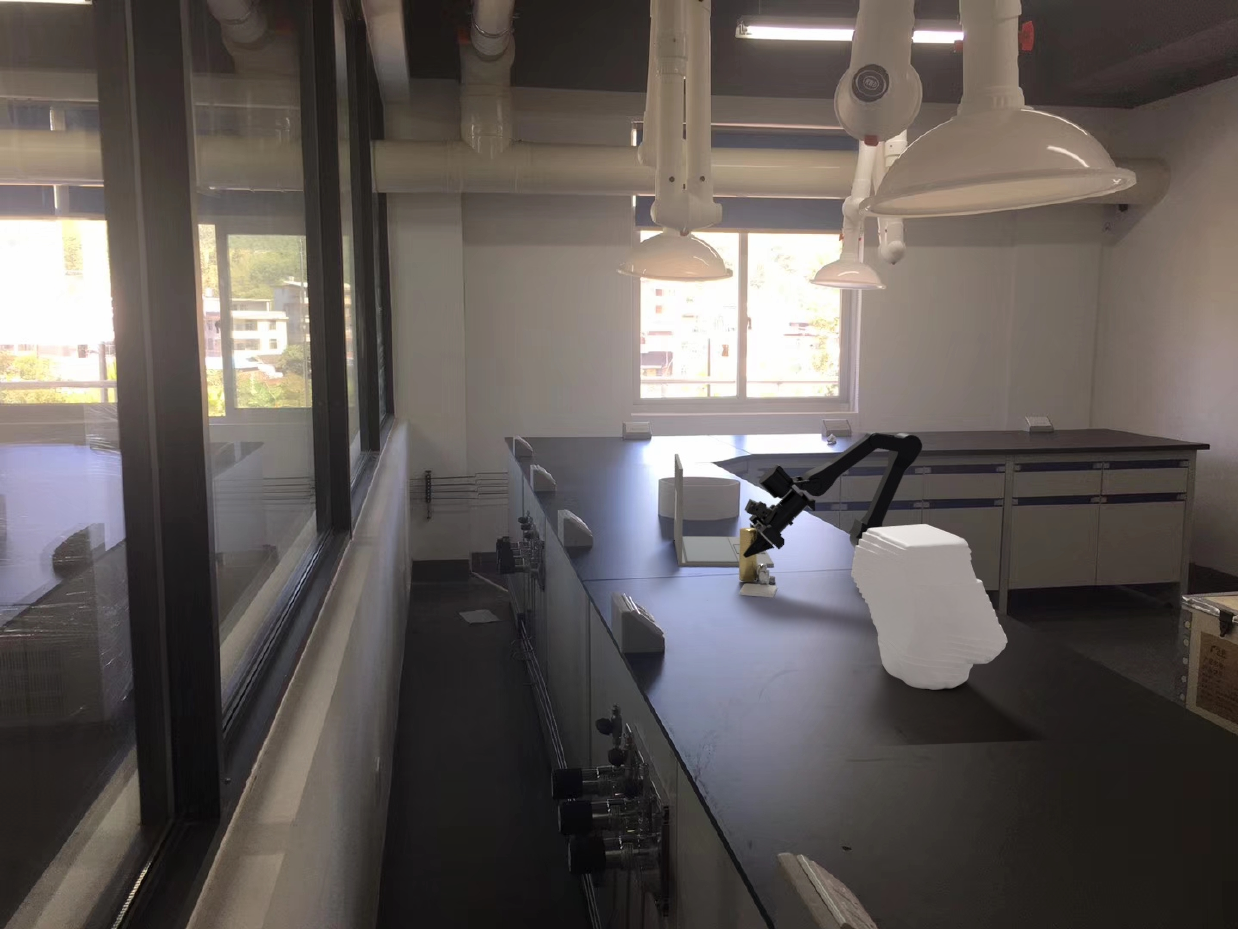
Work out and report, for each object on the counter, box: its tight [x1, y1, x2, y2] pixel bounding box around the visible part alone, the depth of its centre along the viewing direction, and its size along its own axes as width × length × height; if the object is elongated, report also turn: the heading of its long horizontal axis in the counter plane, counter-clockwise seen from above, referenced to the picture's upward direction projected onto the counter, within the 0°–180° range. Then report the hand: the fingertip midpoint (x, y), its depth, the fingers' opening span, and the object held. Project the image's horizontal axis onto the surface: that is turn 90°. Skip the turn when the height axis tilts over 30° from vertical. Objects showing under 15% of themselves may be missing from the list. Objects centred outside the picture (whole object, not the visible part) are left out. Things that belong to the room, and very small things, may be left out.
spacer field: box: [756, 563, 776, 585], centre depth 236 cm, size 8×10×4 cm
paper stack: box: [850, 523, 1008, 691], centre depth 168 cm, size 21×27×26 cm
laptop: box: [673, 453, 775, 568], centre depth 268 cm, size 35×26×27 cm
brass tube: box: [738, 527, 758, 583], centre depth 234 cm, size 4×4×13 cm
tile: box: [739, 582, 778, 598], centre depth 227 cm, size 8×8×1 cm
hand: (742, 554), depth 234 cm, fingers closed on brass tube, 4 cm apart
